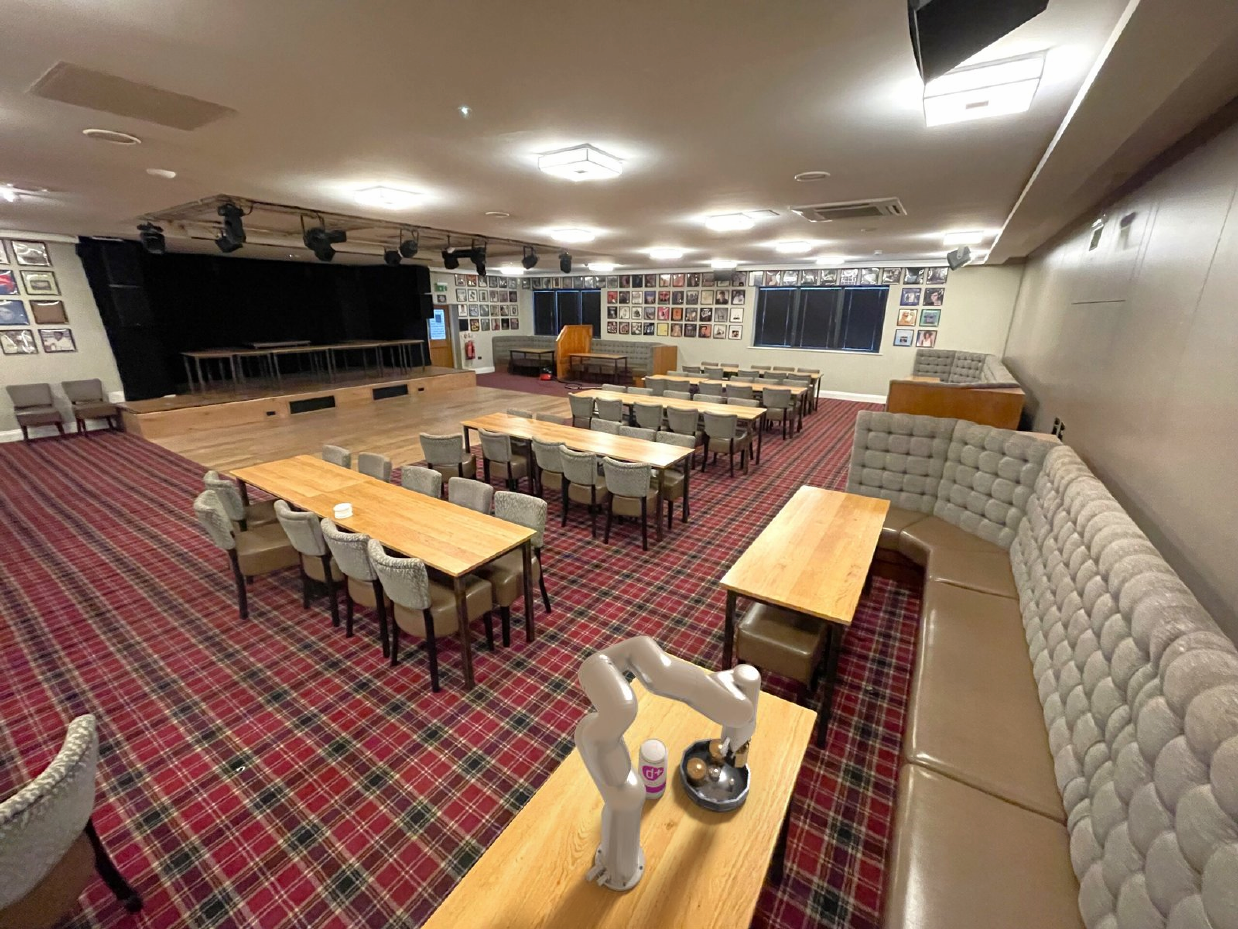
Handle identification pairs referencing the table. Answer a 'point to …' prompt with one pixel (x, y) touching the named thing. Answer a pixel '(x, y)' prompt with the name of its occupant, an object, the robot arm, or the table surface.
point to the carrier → (713, 777)
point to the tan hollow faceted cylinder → (741, 755)
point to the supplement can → (653, 767)
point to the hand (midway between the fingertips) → (736, 756)
